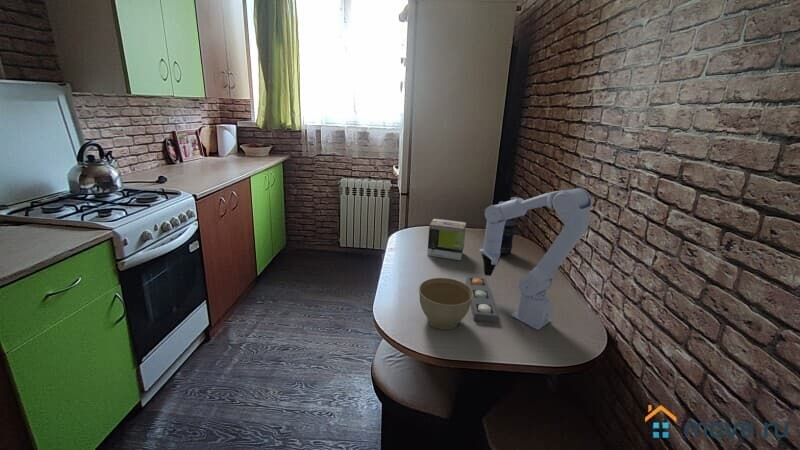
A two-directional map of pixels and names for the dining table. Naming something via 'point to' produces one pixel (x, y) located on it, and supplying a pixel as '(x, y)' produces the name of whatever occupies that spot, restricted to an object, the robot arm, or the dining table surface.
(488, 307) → the cream button
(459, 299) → the planter bowl
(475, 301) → the button panel
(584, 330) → the dining table surface
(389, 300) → the dining table surface
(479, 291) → the sage button
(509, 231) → the storage jar
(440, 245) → the tea box
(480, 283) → the orange button
